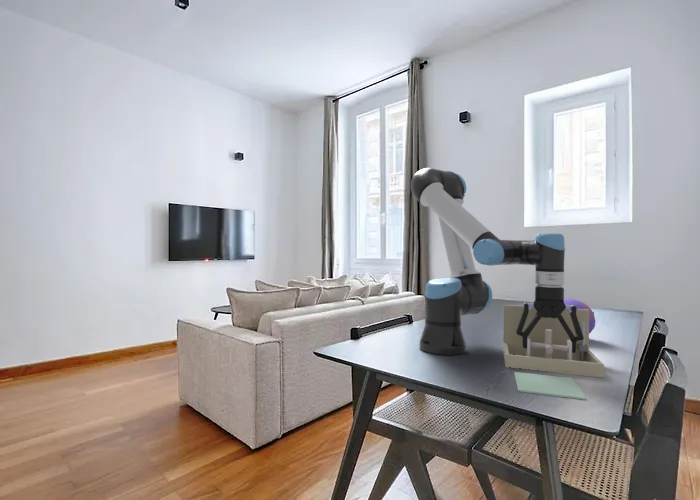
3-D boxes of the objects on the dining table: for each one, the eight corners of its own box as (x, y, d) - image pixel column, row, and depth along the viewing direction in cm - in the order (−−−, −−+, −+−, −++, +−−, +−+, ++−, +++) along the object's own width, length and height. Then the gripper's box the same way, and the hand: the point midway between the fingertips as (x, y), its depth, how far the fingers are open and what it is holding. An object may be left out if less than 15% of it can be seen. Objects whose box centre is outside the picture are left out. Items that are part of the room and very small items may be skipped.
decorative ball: (604, 344, 137) (604, 302, 137) (561, 343, 137) (562, 301, 137) (579, 334, 152) (580, 296, 152) (541, 334, 152) (542, 296, 152)
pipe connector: (566, 361, 115) (566, 328, 115) (569, 371, 106) (570, 335, 106) (529, 357, 119) (529, 325, 119) (529, 366, 110) (530, 331, 110)
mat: (518, 391, 91) (518, 389, 91) (514, 373, 104) (514, 371, 104) (586, 400, 86) (586, 398, 86) (573, 379, 99) (573, 378, 99)
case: (505, 367, 109) (506, 312, 109) (503, 352, 125) (503, 304, 125) (603, 377, 101) (604, 319, 101) (587, 360, 117) (588, 309, 117)
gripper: (508, 285, 113) (507, 360, 113) (597, 289, 105) (596, 369, 105) (507, 283, 120) (506, 353, 120) (590, 286, 112) (589, 362, 112)
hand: (548, 361), depth 113 cm, fingers closed on pipe connector, 10 cm apart
